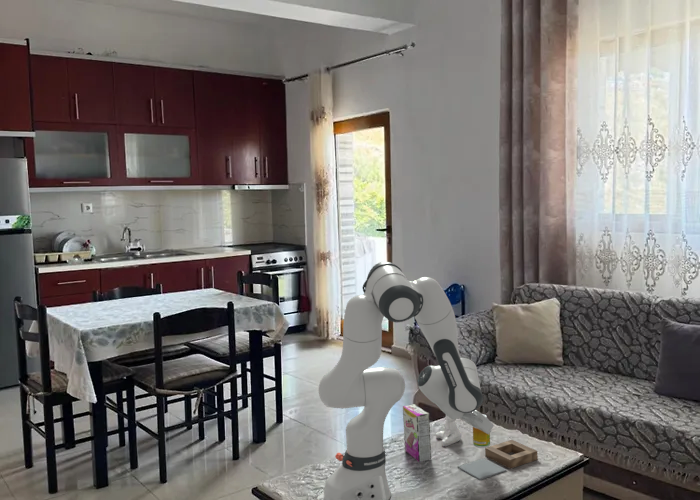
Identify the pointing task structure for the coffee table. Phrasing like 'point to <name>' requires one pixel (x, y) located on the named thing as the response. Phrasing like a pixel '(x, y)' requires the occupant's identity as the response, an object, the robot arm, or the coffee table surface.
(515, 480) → the coffee table surface
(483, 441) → the supplement bottle
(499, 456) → the pocket block
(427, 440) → the candy bar box
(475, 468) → the rubber mat
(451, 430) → the sitting furry creature
